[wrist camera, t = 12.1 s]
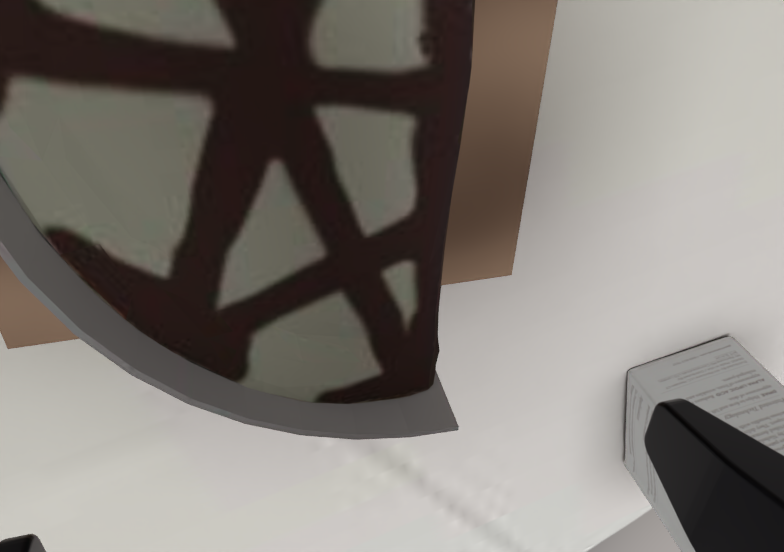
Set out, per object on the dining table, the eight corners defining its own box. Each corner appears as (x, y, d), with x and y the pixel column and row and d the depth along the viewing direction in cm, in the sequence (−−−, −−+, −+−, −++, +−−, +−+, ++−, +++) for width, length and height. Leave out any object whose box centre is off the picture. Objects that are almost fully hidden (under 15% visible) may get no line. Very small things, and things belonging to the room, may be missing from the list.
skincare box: (711, 429, 38) (951, 711, 26) (615, 464, 37) (817, 769, 25) (730, 325, 32) (1043, 621, 21) (619, 365, 32) (877, 691, 20)
